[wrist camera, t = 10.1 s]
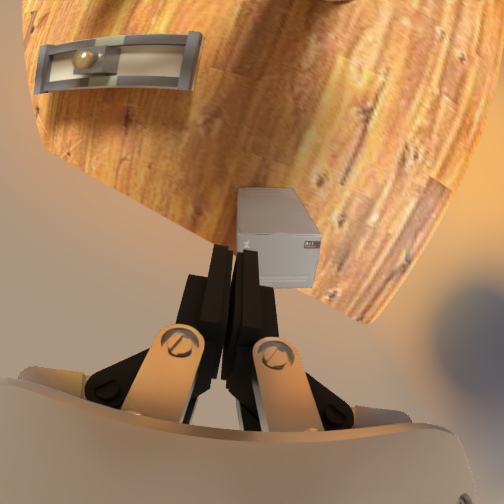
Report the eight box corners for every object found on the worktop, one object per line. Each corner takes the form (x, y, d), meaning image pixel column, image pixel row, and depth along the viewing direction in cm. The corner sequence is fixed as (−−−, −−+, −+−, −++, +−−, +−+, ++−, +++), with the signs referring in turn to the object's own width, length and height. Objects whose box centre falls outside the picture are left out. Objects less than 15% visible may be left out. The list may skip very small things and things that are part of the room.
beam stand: (69, 48, 25) (40, 46, 19) (209, 43, 28) (199, 31, 22) (63, 90, 29) (33, 94, 23) (199, 91, 32) (187, 90, 25)
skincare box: (237, 225, 42) (232, 295, 29) (237, 180, 38) (231, 233, 25) (292, 227, 42) (312, 295, 29) (297, 182, 39) (324, 236, 25)
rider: (93, 51, 23) (67, 47, 18) (121, 48, 23) (97, 43, 18) (89, 74, 24) (62, 74, 19) (116, 73, 25) (92, 71, 20)
